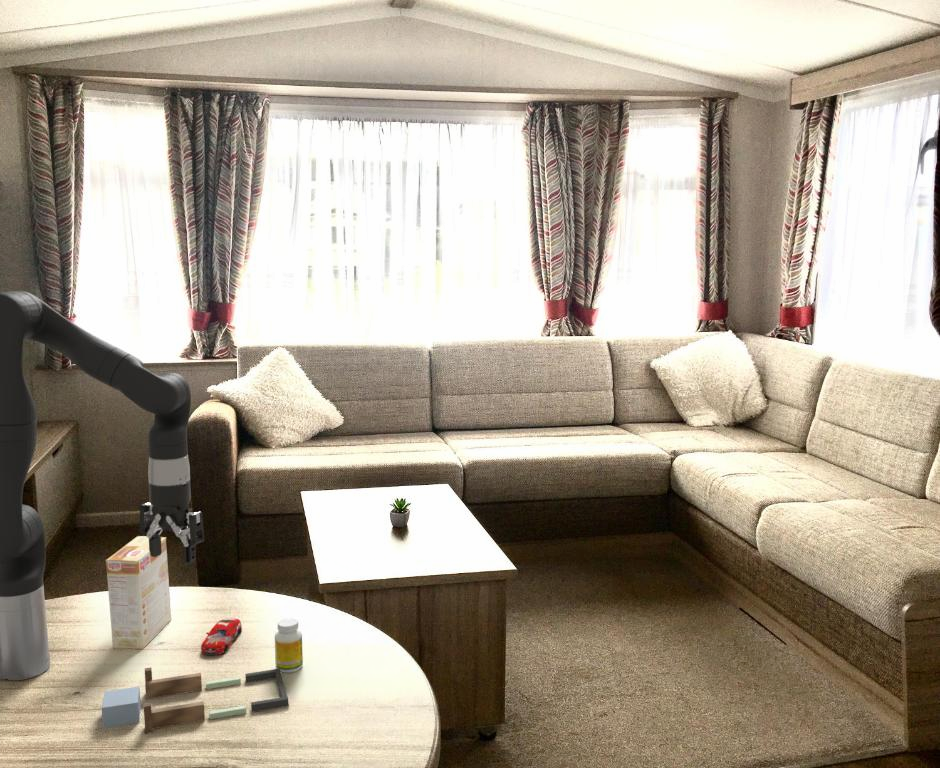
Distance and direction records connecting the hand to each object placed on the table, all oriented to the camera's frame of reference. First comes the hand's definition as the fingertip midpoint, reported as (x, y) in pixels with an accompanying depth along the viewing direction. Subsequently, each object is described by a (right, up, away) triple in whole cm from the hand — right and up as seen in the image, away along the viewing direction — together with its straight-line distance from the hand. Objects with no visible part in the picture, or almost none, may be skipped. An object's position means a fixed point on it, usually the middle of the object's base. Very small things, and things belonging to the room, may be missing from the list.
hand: (172, 559), depth 175 cm
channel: (+4, -25, -10) cm, 27 cm away
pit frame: (+19, -24, -4) cm, 31 cm away
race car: (+5, -21, +17) cm, 28 cm away
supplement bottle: (+21, -23, +6) cm, 32 cm away
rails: (+12, -25, -7) cm, 28 cm away
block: (-5, -26, -12) cm, 29 cm away
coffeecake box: (-13, -20, +21) cm, 32 cm away
